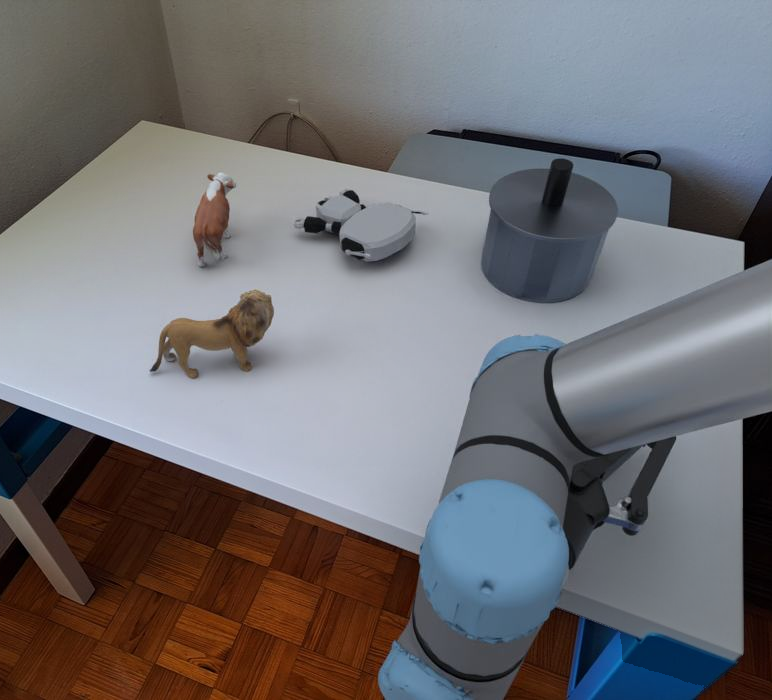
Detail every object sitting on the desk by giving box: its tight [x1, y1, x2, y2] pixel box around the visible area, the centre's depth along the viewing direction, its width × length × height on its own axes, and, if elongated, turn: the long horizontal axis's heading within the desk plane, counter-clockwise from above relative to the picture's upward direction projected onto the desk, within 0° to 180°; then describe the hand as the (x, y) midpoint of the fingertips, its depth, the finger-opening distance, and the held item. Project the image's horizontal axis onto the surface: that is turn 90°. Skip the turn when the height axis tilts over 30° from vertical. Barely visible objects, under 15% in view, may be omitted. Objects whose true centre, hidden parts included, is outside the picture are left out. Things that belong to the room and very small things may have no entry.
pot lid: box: [488, 157, 619, 242], centre depth 79 cm, size 15×15×6 cm
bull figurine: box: [192, 171, 237, 268], centre depth 91 cm, size 4×13×8 cm, turn 170°
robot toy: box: [293, 188, 430, 263], centre depth 92 cm, size 12×4×15 cm
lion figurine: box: [149, 289, 275, 379], centre depth 75 cm, size 15×5×9 cm, turn 104°
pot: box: [480, 209, 609, 304], centre depth 84 cm, size 14×14×10 cm
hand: (631, 362), depth 65 cm, fingers closed on pepper mill, 5 cm apart
